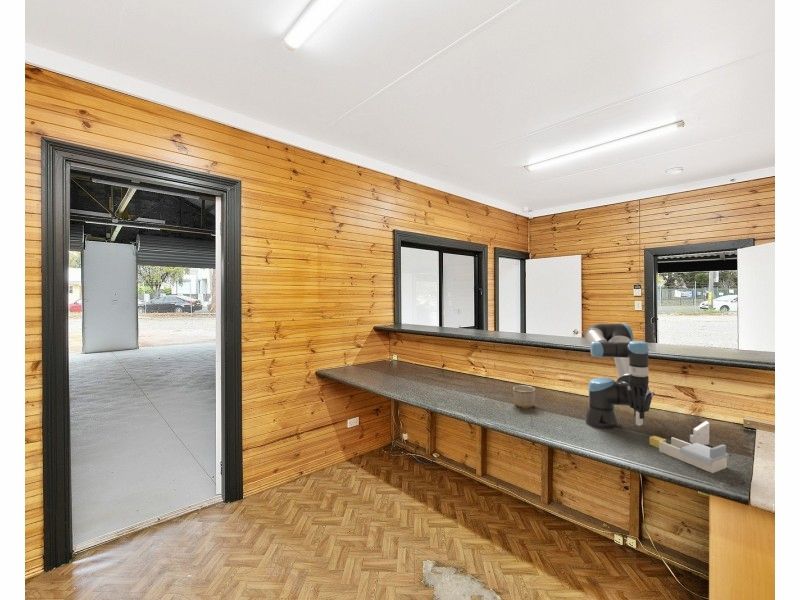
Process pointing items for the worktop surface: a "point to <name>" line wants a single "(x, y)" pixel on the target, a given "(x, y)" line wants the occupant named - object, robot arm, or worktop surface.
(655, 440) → the mustard yellow cuboid
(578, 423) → the worktop surface
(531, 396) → the planter
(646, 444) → the worktop surface
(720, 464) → the long white channel rail
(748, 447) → the worktop surface
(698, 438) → the white angled block
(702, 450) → the cover
